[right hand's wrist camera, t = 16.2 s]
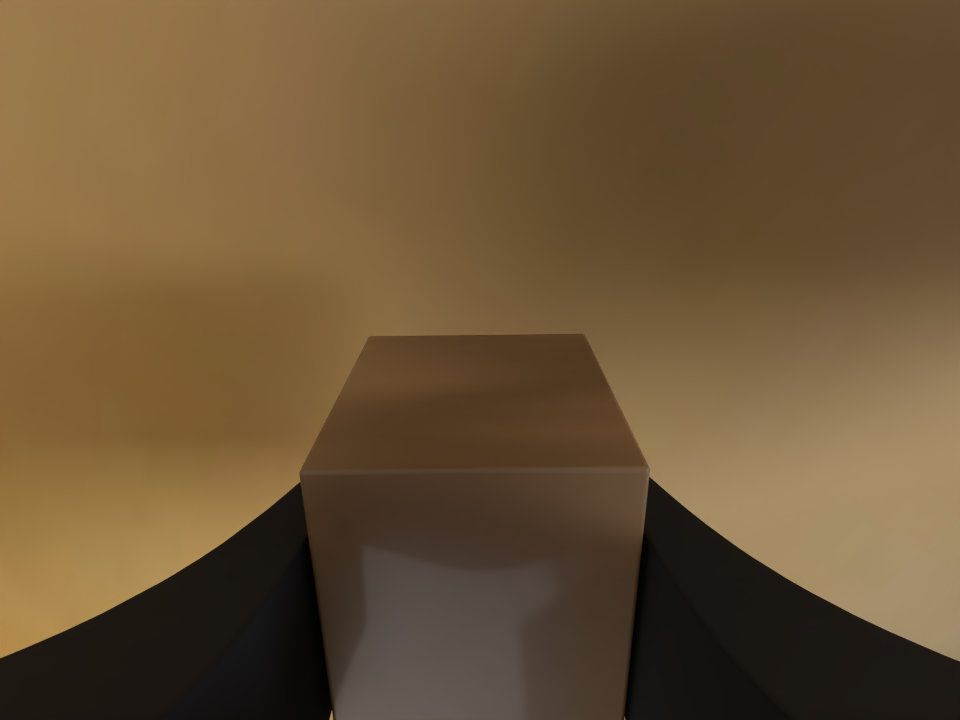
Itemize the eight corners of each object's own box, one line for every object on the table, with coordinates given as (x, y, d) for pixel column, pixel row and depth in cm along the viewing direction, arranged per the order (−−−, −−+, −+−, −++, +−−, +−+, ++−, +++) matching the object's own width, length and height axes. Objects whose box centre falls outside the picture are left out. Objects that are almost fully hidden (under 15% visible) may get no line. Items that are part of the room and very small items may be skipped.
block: (584, 332, 12) (651, 468, 7) (573, 552, 13) (620, 769, 9) (368, 335, 12) (297, 472, 7) (385, 553, 13) (338, 771, 9)
